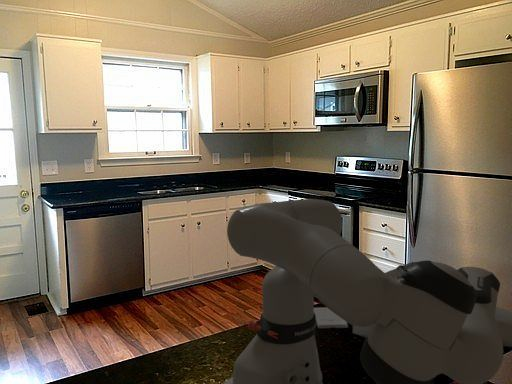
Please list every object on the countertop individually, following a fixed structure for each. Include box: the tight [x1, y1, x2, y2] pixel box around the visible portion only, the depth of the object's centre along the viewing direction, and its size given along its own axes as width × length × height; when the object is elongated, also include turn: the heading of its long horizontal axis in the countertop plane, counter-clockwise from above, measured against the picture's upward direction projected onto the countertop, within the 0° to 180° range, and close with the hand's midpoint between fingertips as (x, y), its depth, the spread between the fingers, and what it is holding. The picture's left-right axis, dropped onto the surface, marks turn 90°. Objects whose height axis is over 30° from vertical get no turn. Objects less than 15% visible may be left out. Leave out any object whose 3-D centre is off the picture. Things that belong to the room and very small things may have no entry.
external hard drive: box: [314, 306, 349, 329], centre depth 126 cm, size 2×8×12 cm
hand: (401, 299), depth 122 cm, fingers open, 6 cm apart
